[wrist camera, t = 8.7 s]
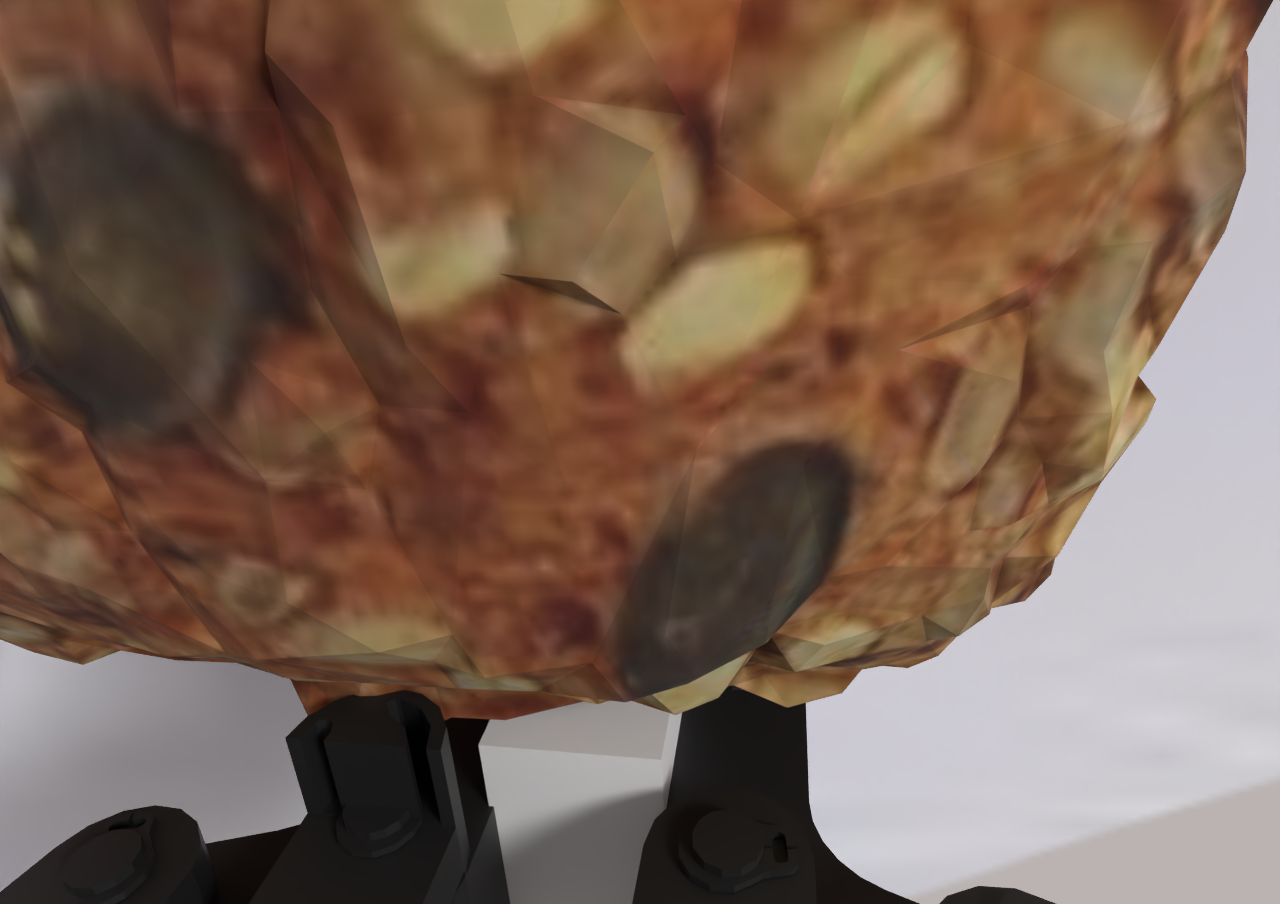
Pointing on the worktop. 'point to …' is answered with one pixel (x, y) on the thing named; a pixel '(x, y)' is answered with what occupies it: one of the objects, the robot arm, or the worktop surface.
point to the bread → (582, 327)
